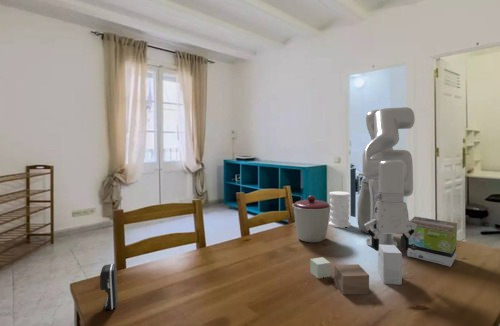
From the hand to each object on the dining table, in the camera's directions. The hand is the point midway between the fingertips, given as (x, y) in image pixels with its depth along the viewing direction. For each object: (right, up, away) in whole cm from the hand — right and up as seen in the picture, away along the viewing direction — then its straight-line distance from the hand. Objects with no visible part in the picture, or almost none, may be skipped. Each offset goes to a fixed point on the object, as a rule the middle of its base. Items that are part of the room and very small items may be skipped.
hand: (389, 249), depth 97 cm
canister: (-17, -8, +43) cm, 47 cm away
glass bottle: (+14, -7, +52) cm, 54 cm away
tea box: (+25, -9, +18) cm, 32 cm away
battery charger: (-87, -13, -12) cm, 89 cm away
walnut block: (-14, -11, -4) cm, 19 cm away
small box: (0, -11, +1) cm, 11 cm away
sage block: (-22, -11, +6) cm, 25 cm away
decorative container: (+3, -6, +65) cm, 66 cm away
